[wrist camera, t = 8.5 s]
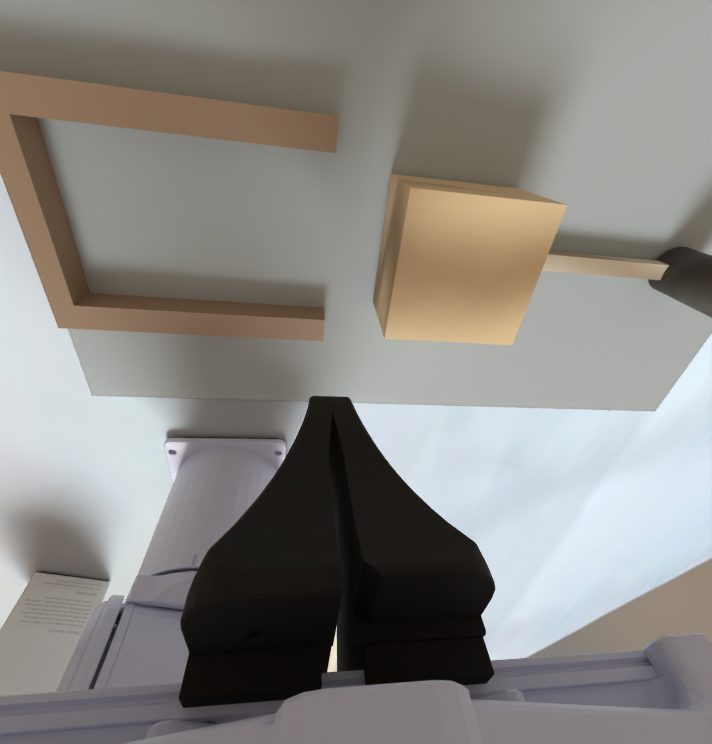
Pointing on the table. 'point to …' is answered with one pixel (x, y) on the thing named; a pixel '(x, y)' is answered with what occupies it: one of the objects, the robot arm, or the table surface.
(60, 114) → the lane
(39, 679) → the skincare box
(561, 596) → the table surface
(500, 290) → the wooden mallet
